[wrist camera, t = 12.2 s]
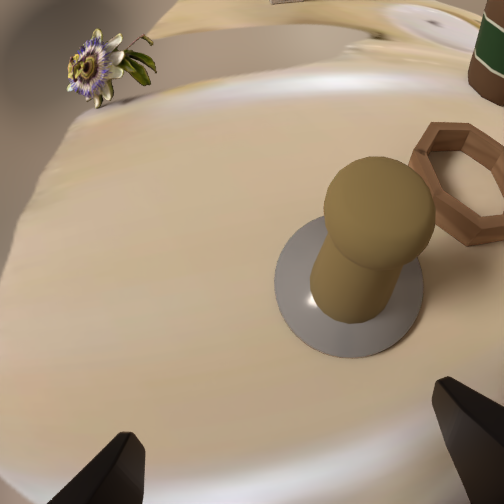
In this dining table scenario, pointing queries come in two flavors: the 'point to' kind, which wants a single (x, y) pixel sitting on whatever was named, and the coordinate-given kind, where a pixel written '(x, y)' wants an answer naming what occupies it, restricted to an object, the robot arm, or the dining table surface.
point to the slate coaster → (324, 327)
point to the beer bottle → (489, 55)
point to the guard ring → (447, 207)
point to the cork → (369, 236)
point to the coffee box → (283, 1)
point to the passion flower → (105, 67)
